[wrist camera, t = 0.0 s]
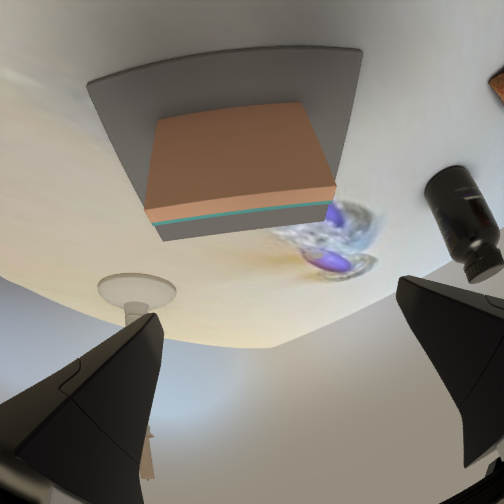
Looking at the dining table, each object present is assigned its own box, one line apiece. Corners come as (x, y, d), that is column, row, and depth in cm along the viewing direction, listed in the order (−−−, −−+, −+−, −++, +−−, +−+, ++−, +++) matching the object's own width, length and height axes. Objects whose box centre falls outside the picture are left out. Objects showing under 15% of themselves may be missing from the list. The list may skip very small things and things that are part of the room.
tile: (157, 119, 18) (144, 210, 14) (301, 102, 19) (336, 186, 15) (162, 135, 20) (152, 225, 16) (299, 118, 20) (331, 203, 16)
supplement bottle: (466, 156, 25) (517, 252, 19) (469, 185, 29) (509, 269, 24) (417, 181, 28) (461, 280, 22) (427, 207, 33) (462, 293, 27)
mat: (87, 82, 15) (85, 86, 14) (360, 49, 15) (363, 52, 15) (163, 237, 32) (163, 241, 32) (322, 217, 33) (324, 221, 32)
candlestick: (147, 308, 52) (158, 468, 38) (86, 291, 43) (91, 474, 29) (192, 288, 46) (211, 480, 32) (122, 264, 37) (133, 497, 22)
